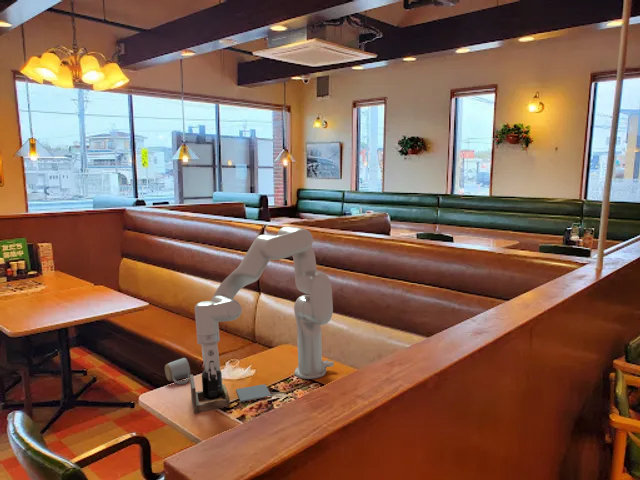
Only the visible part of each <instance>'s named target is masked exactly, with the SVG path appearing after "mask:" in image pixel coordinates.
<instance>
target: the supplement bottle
mask: <svg viewBox="0 0 640 480" xmlns="http://www.w3.org/2000/svg"><path fill="white" fill-rule="evenodd" d="M209 364H210V362H209ZM214 370H215V369H214ZM209 371H211V370H209ZM216 374H217V379H218V390H217V391H212V392H209V387H208V380H209V378H208V373H207V372H206V370H205V367H204V366H203V371H202V373H201V385H202V387H201V388H202V391H203V397H204V399H205V400H206V401H215V400H218V399H221V398H222V397H223V388H222V385H223V376H222V375H223V374H222V370H220V371H217V370H216ZM210 375H211V373H210Z"/></svg>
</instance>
